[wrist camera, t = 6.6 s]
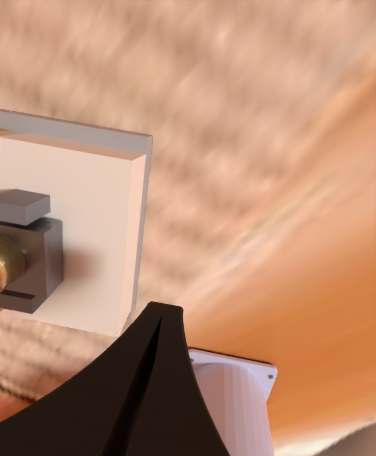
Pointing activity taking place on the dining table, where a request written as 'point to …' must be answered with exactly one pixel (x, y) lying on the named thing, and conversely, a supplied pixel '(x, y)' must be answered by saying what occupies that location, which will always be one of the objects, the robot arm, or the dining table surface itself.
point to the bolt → (31, 256)
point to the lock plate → (78, 214)
